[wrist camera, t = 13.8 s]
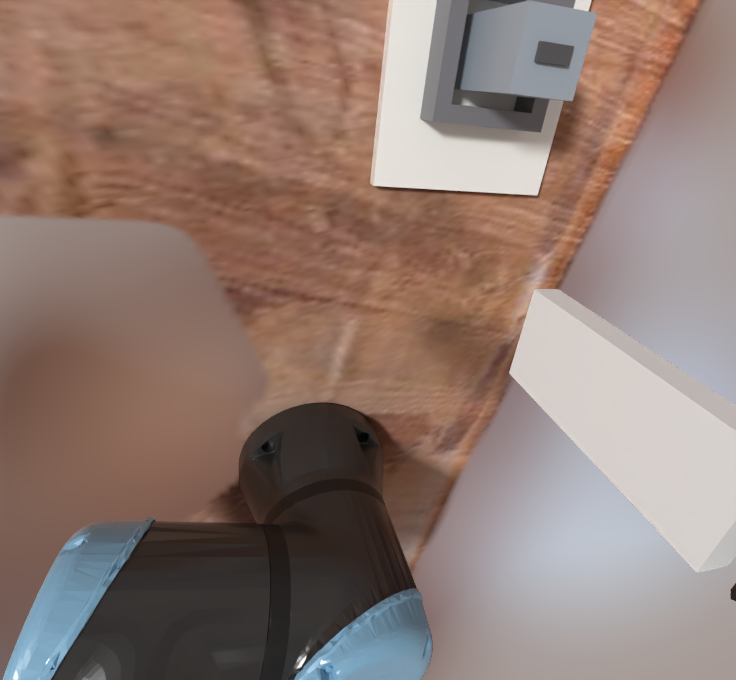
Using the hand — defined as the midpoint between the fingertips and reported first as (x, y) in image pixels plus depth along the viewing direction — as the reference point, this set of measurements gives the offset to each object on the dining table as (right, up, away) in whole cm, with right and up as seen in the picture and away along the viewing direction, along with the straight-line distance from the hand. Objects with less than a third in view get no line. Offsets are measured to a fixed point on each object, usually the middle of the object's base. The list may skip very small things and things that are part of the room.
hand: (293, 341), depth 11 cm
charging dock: (+10, +20, +24) cm, 32 cm away
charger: (+10, +21, +22) cm, 32 cm away
